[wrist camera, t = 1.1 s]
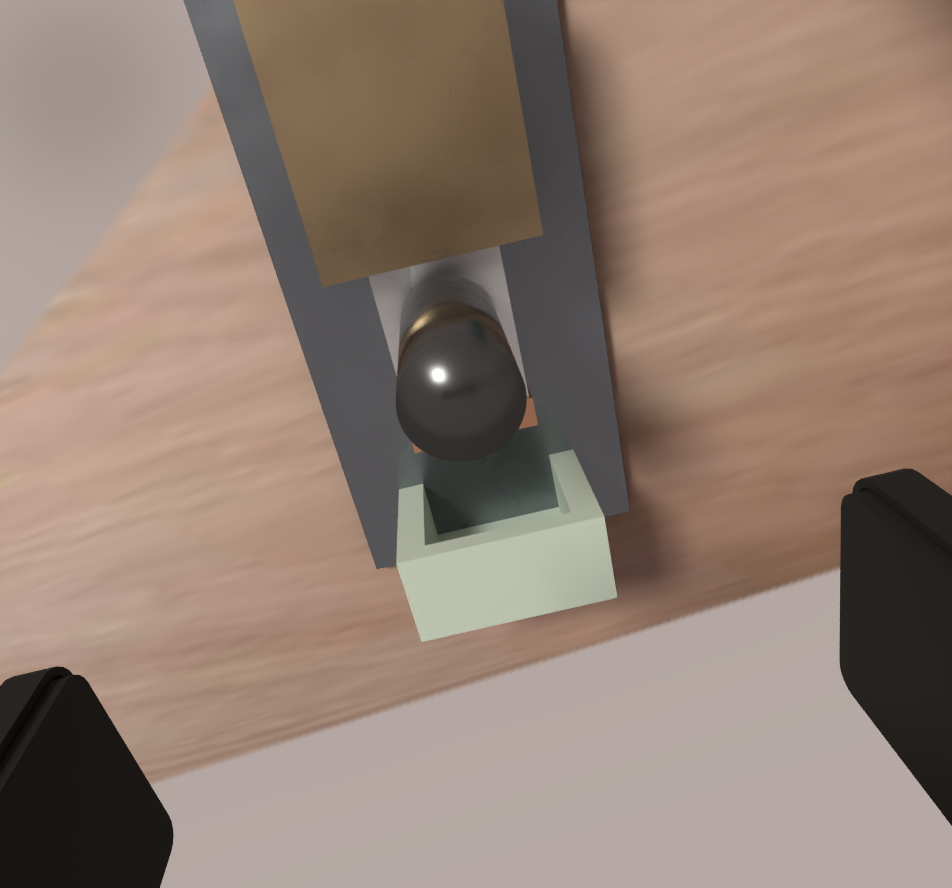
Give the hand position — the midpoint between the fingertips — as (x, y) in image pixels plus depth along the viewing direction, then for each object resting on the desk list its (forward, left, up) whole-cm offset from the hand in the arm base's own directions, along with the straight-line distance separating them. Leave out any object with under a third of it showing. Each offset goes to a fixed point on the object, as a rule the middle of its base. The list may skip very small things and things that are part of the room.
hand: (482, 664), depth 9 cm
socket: (0, +9, -19) cm, 21 cm away
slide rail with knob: (0, 0, -19) cm, 19 cm away
